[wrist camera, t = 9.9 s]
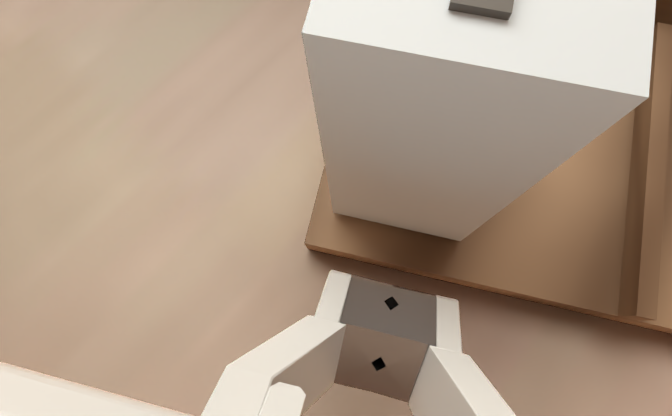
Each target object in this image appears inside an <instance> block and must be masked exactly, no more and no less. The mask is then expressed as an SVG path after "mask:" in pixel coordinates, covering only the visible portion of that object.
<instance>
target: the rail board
mask: <svg viewBox="0 0 672 416" xmlns="http://www.w3.org/2000/svg"><path fill="white" fill-rule="evenodd" d="M305 245H306V247H307V248H308V249H311V250H316V251H320V252H324V253H328V254H333V255H337V256H341V257H345V258H350V259H354V260H358V261H362V262H367V263H371V264H375V265H380V266H384V267H388V268H392V269H397V270H401V271H405V272H409V273H414V274H418V275H422V276H426V277H431V278H435V279H439V280H444V281H448V282H452V283H456V284H461V285H465V286H469V287H473V288H478V289H482V290H486V291H491V292H495V293H499V294H503V295H508V296H512V297H516V298H520V299H525V300H529V301H533V302H537V303H542V304H546V305H550V306H555V307H559V308H563V309H567V310H572V311H576V312H580V313H584V314H589V315H593V316H597V317H602V318H606V319H610V320H614V321H619V322H623V323H627V324H631V325H636V326H640V327H644V328H648V329H653V330H657V331H661V332H666V333H670V334H672V0H656V8H655V21H654V35H653V48H652V61H651V75H650V88H649V98H648V99H646V100H645V101H644V102H642V103H641V104H640V105H638V106H637V107H636V108H634V109H633V110H632V111H630V112H629V113H628V114H627V115H625V116H624V117H623V118H621V119H620V120H619V121H617V122H616V123H615V124H613V125H612V126H611V127H610V128H608V129H607V130H606V131H604V132H603V133H602V134H600V135H599V136H598V137H596V138H595V139H594V140H593V141H591V142H590V143H589V144H587V145H586V146H585V147H583V148H582V149H581V150H579V151H578V152H577V153H575V154H574V155H573V156H572V157H570V158H569V159H568V160H566V161H565V162H564V163H562V164H561V165H560V166H558V167H557V168H556V169H555V170H553V171H552V172H551V173H549V174H548V175H547V176H545V177H544V178H543V179H541V180H540V181H539V182H538V183H536V184H535V185H534V186H532V187H531V188H530V189H528V190H527V191H526V192H524V193H523V194H522V195H520V196H519V197H518V198H517V199H515V200H514V201H513V202H511V203H510V204H509V205H507V206H506V207H505V208H503V209H502V210H501V211H500V212H498V213H497V214H496V215H494V216H493V217H492V218H490V219H489V220H488V221H486V222H485V223H484V224H483V225H481V226H480V227H479V228H477V229H476V230H475V231H473V232H472V233H471V234H469V235H468V236H467V237H466V238H464V239H463V240H462V241H457V240H452V239H448V238H443V237H439V236H435V235H430V234H426V233H421V232H417V231H412V230H408V229H403V228H399V227H395V226H390V225H386V224H381V223H377V222H372V221H368V220H363V219H359V218H355V217H350V216H346V215H341V214H337V213H333V208H332V203H331V197H330V191H329V186H328V180H327V174H326V169H325V166H324V170H323V174H322V178H321V181H320V185H319V189H318V193H317V197H316V201H315V204H314V208H313V212H312V216H311V220H310V224H309V227H308V231H307V235H306V239H305Z"/></svg>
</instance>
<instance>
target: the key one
mask: <svg viewBox="0 0 672 416" xmlns="http://www.w3.org/2000/svg"><path fill="white" fill-rule="evenodd" d="M655 8H656V0H311V2H310V6H309V9H308V12H307V16H306V19H305V23H304V26H303V29H302V38H303V44H304V49H305V55H306V61H307V66H308V72H309V78H310V84H311V89H312V95H313V101H314V106H315V112H316V118H317V123H318V129H319V135H320V140H321V146H322V152H323V157H324V163H325V169H326V174H327V180H328V186H329V191H330V197H331V203H332V208H333V213H337V214H341V215H346V216H350V217H355V218H359V219H363V220H368V221H372V222H377V223H381V224H386V225H390V226H395V227H399V228H403V229H408V230H412V231H417V232H421V233H426V234H430V235H435V236H439V237H443V238H448V239H452V240H457V241H462V240H463V239H464V238H466V237H467V236H468V235H469V234H471V233H472V232H473V231H475V230H476V229H477V228H479V227H480V226H481V225H483V224H484V223H485V222H486V221H488V220H489V219H490V218H492V217H493V216H494V215H496V214H497V213H498V212H500V211H501V210H502V209H503V208H505V207H506V206H507V205H509V204H510V203H511V202H513V201H514V200H515V199H517V198H518V197H519V196H520V195H522V194H523V193H524V192H526V191H527V190H528V189H530V188H531V187H532V186H534V185H535V184H536V183H538V182H539V181H540V180H541V179H543V178H544V177H545V176H547V175H548V174H549V173H551V172H552V171H553V170H555V169H556V168H557V167H558V166H560V165H561V164H562V163H564V162H565V161H566V160H568V159H569V158H570V157H572V156H573V155H574V154H575V153H577V152H578V151H579V150H581V149H582V148H583V147H585V146H586V145H587V144H589V143H590V142H591V141H593V140H594V139H595V138H596V137H598V136H599V135H600V134H602V133H603V132H604V131H606V130H607V129H608V128H610V127H611V126H612V125H613V124H615V123H616V122H617V121H619V120H620V119H621V118H623V117H624V116H625V115H627V114H628V113H629V112H630V111H632V110H633V109H634V108H636V107H637V106H638V105H640V104H641V103H642V102H644V101H645V100H646V99H648V98H649V88H650V75H651V61H652V48H653V35H654V21H655Z"/></svg>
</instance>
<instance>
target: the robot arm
mask: <svg viewBox="0 0 672 416" xmlns="http://www.w3.org/2000/svg"><path fill="white" fill-rule="evenodd" d="M351 276H352V278H351ZM334 383H337V384H341V385H345V386H349V387H354V388H358V389H362V390H367V391H371V392H374V393H378V394H381V395H384V396H388V397H391V398H395V399H398V400H402V401H405V402H408V405H409V408H410V410H411V412H412V414H413V416H516V415H515V413H514V412H513V411H512V409H511V408H510V407H509V406H508V404H507V403H506V402H505V400H504V399H503V398H502V397H501V395H500V394H499V393H498V391H497V390H496V389H495V388H494V386H493V385H492V384H491V382H490V381H489V380H488V379H487V377H486V376H485V375H484V373H483V372H482V371H481V370H480V368H479V367H478V366H477V364H476V363H475V362H474V361H473V359H472V358H471V357H470V355H466V354H463V350H462V336H461V323H460V309H459V302H458V300H457V299H453V298H448V297H444V296H439V295H432V294H428V293H423V292H419V291H415V290H411V289H406V288H402V287H398V286H393V285H390V284H386V283H383V282H379V281H375V280H371V279H367V278H364V277H360V276H356V275H351V274H347V273H343V272H339V271H335V270H332V269H331V271H330V272H329V274H328V277H327V280H326V283H325V286H324V289H323V292H322V295H321V298H320V301H319V304H318V307H317V310H316V313H315V316H311V315H307V316H306V317H304V318H303V319H301V320H299V321H298V322H296V323H294V324H293V325H291V326H290V327H288V328H286V329H285V330H283V331H282V332H280V333H278V334H277V335H275V336H274V337H272V338H270V339H269V340H267V341H265V342H264V343H262V344H261V345H259V346H257V347H256V348H254V349H253V350H251V351H249V352H248V353H246V354H245V355H243V356H241V357H240V358H238V359H236V360H235V361H233V362H232V363H230V364H228V365H227V366H226V368H225V370H224V372H223V374H222V376H221V378H220V379H219V381H218V383H217V385H216V387H215V389H214V391H213V393H212V395H211V397H210V399H209V401H208V403H207V405H206V407H205V409H204V411H203V412H202V414H201V416H302V415H303V414H304V413H305V412H306V411H307V410H308V409H309V408H310V407H311V406H312V405H313V404H314V403H315V402H316V401H317V400H318V399H319V398H320V397H321V396H322V395H323V394H324V393H326V392H327V391H328V390H329V389H330V388H331V387H332V386H333V384H334ZM0 416H194V415H191V414H187V413H183V412H180V411H176V410H173V409H169V408H166V407H162V406H158V405H155V404H151V403H148V402H144V401H140V400H137V399H133V398H130V397H126V396H123V395H119V394H115V393H112V392H108V391H105V390H101V389H97V388H94V387H90V386H87V385H83V384H80V383H76V382H72V381H69V380H65V379H62V378H58V377H54V376H51V375H47V374H44V373H40V372H36V371H33V370H29V369H26V368H22V367H19V366H15V365H11V364H8V363H4V362H1V361H0Z"/></svg>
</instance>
